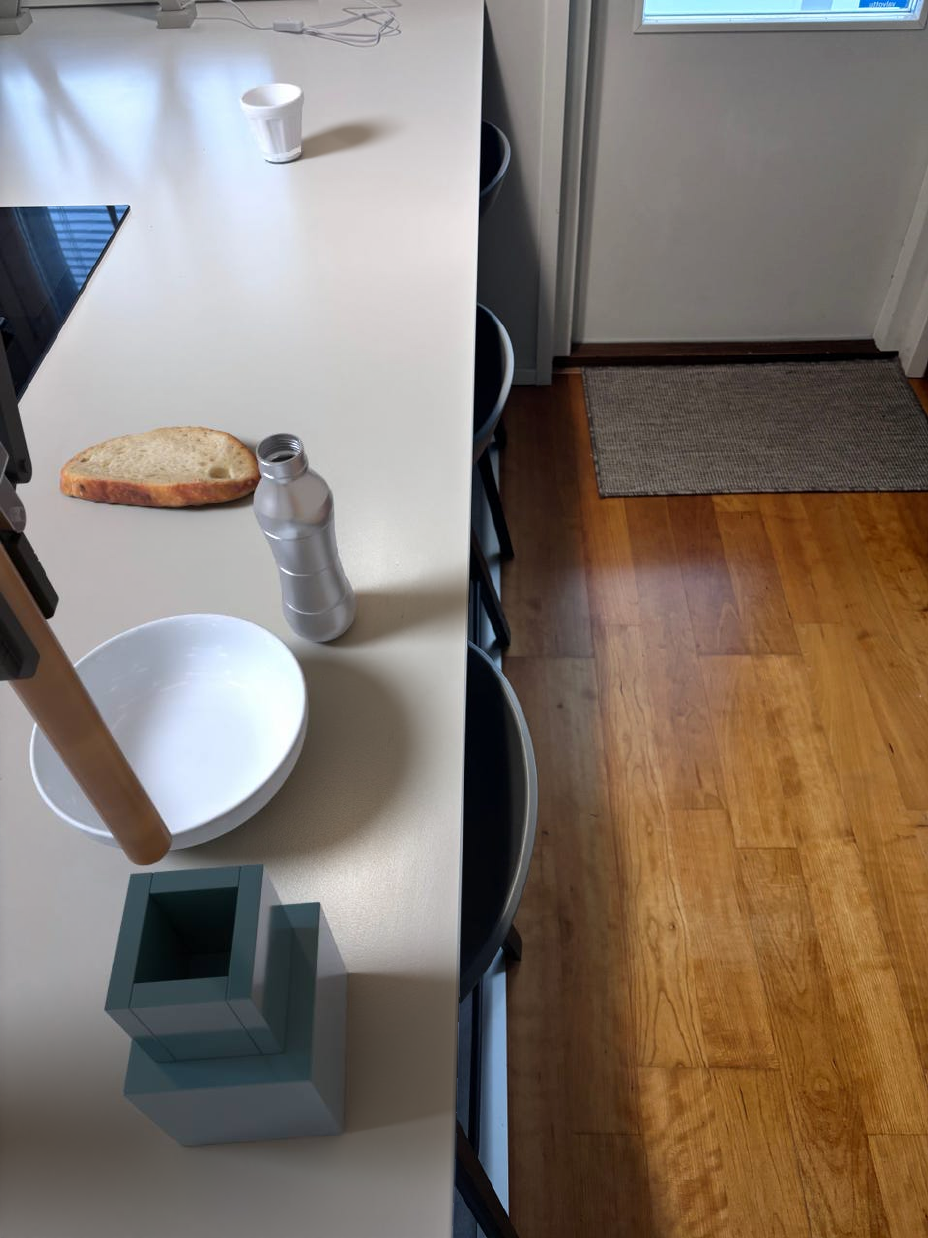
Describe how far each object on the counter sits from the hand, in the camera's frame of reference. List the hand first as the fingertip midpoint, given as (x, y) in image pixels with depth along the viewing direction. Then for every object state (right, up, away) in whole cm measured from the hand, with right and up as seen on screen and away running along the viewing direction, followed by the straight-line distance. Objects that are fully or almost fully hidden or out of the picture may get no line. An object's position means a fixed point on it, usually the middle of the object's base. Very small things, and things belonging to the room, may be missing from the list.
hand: (20, 641), depth 34 cm
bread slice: (-16, +15, +67) cm, 70 cm away
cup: (-13, +76, +120) cm, 143 cm away
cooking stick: (+1, -10, +11) cm, 15 cm away
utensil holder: (+3, -27, +27) cm, 39 cm away
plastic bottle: (+3, 0, +52) cm, 52 cm away
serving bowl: (-6, -11, +43) cm, 45 cm away
